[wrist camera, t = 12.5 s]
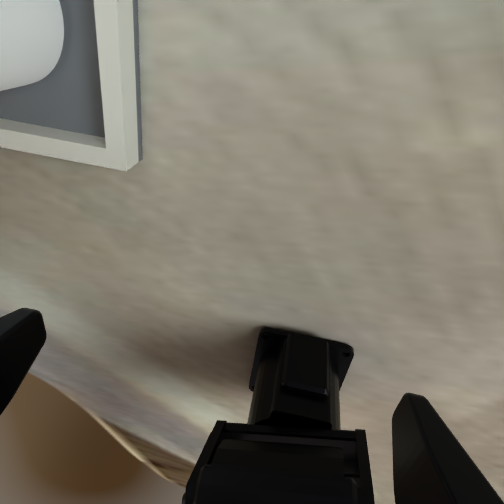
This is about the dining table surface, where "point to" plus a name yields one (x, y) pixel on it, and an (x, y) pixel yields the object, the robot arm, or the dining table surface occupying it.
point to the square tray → (83, 92)
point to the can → (29, 40)
